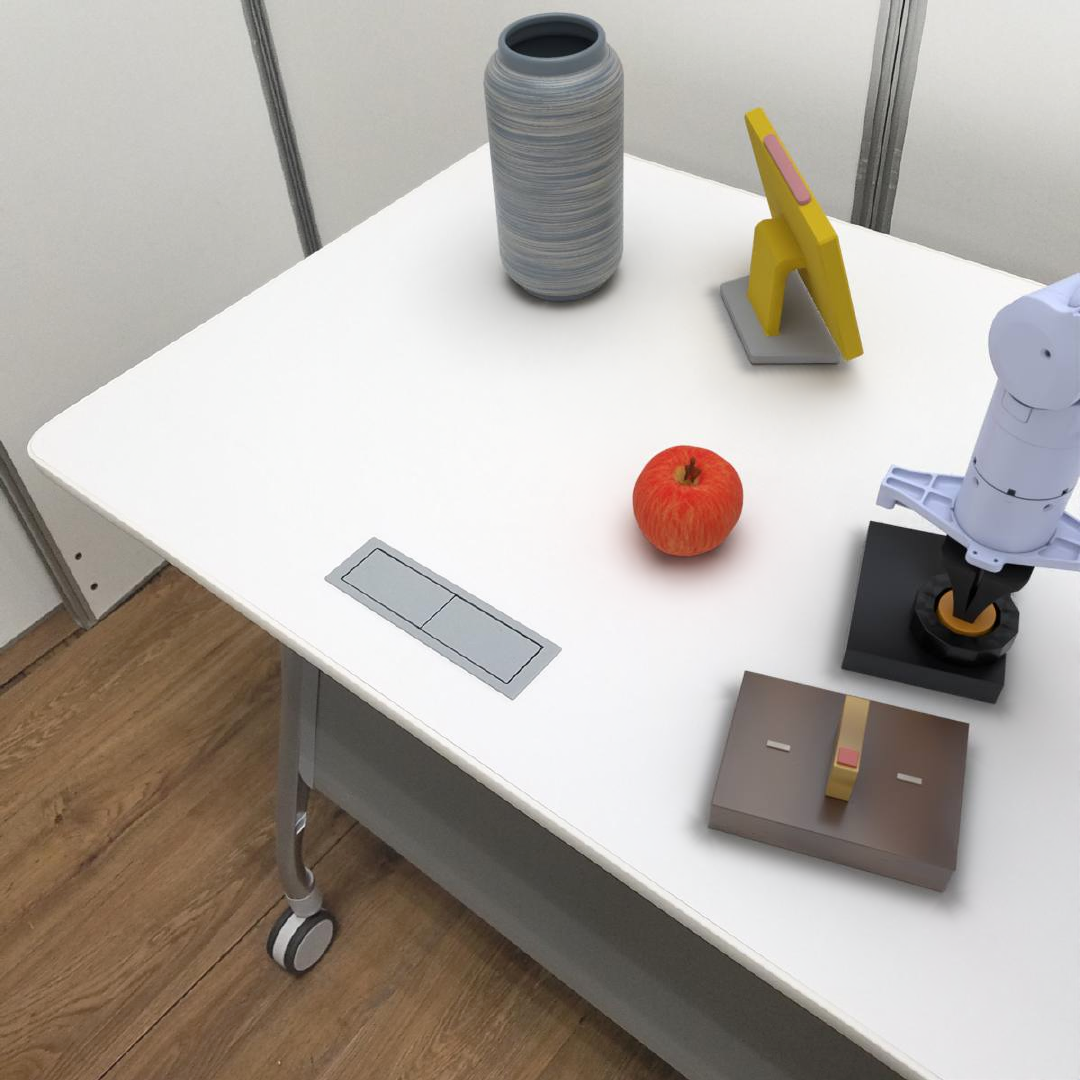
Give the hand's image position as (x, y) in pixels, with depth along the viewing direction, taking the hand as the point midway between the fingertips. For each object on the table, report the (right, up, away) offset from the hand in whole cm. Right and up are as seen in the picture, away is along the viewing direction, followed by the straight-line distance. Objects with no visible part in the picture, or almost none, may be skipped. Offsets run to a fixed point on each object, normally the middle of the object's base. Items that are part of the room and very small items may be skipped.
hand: (967, 609), depth 72 cm
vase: (-26, +30, +33) cm, 52 cm away
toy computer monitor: (-7, +24, +27) cm, 37 cm away
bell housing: (-1, -1, +5) cm, 5 cm away
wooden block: (-10, -9, -6) cm, 14 cm away
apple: (-17, +5, +11) cm, 21 cm away
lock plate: (-10, -11, -3) cm, 15 cm away
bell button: (0, -1, +1) cm, 2 cm away
